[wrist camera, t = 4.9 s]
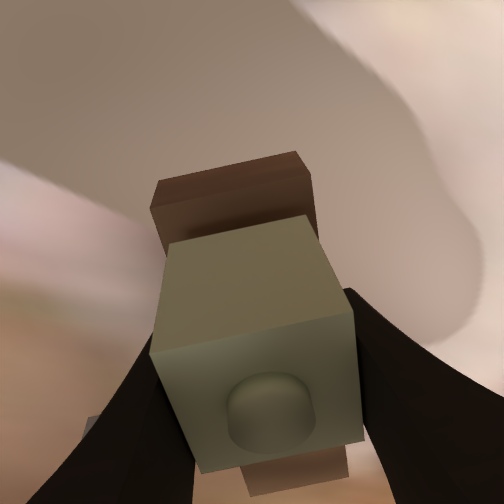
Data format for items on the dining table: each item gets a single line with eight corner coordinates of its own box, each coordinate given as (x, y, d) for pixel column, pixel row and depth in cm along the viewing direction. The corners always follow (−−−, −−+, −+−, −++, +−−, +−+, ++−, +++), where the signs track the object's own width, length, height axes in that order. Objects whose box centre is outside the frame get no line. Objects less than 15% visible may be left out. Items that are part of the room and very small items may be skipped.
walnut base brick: (335, 433, 23) (349, 476, 20) (246, 451, 23) (250, 496, 20) (295, 150, 15) (310, 173, 12) (158, 180, 15) (149, 208, 13)
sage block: (320, 321, 14) (373, 463, 9) (204, 345, 14) (201, 499, 9) (305, 214, 12) (363, 331, 7) (169, 244, 12) (144, 377, 7)
